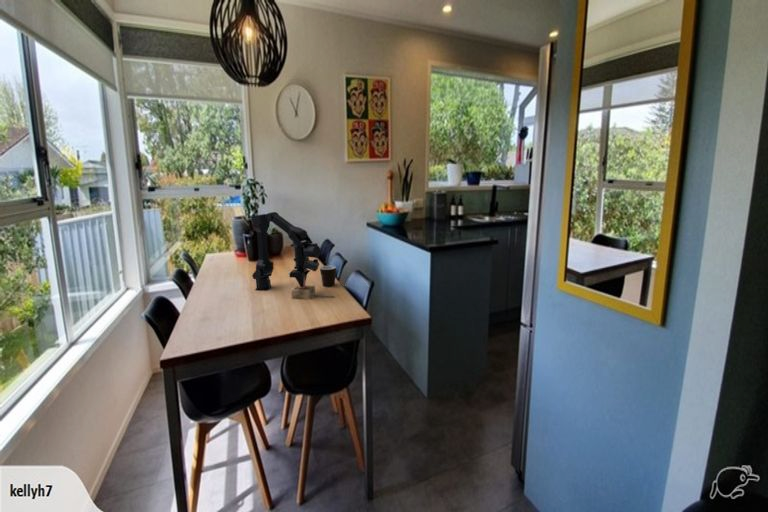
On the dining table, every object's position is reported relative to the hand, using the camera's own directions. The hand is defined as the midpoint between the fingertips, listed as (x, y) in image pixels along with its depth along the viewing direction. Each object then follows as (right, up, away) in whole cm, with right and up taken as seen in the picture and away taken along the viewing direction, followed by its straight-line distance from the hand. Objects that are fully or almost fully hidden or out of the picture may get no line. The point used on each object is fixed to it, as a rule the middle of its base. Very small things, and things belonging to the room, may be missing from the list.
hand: (302, 286), depth 183 cm
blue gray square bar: (+10, -5, 0) cm, 12 cm away
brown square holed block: (0, -5, +1) cm, 5 cm away
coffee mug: (+11, -1, +19) cm, 22 cm away
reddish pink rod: (0, -2, +1) cm, 3 cm away
